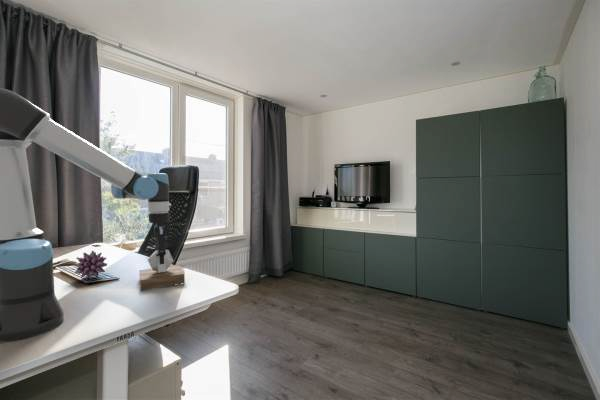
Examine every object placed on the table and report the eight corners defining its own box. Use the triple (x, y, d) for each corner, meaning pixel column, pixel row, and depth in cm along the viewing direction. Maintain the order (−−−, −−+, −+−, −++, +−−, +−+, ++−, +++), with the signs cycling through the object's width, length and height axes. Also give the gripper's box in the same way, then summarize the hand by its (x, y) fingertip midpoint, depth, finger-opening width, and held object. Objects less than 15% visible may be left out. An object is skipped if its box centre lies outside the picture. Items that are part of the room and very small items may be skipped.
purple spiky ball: (108, 282, 125) (73, 283, 116) (100, 275, 133) (67, 275, 124) (114, 254, 125) (79, 253, 117) (106, 249, 134) (73, 248, 125)
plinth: (184, 283, 116) (184, 273, 116) (140, 291, 109) (140, 280, 109) (179, 274, 129) (178, 265, 129) (139, 279, 122) (139, 270, 122)
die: (156, 276, 113) (172, 254, 115) (139, 263, 115) (155, 242, 117) (165, 277, 121) (180, 256, 123) (149, 265, 122) (164, 246, 125)
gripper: (172, 213, 111) (174, 274, 112) (166, 210, 129) (168, 262, 130) (150, 214, 107) (152, 277, 108) (147, 211, 125) (149, 264, 126)
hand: (161, 269), depth 119 cm, fingers closed on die, 8 cm apart
